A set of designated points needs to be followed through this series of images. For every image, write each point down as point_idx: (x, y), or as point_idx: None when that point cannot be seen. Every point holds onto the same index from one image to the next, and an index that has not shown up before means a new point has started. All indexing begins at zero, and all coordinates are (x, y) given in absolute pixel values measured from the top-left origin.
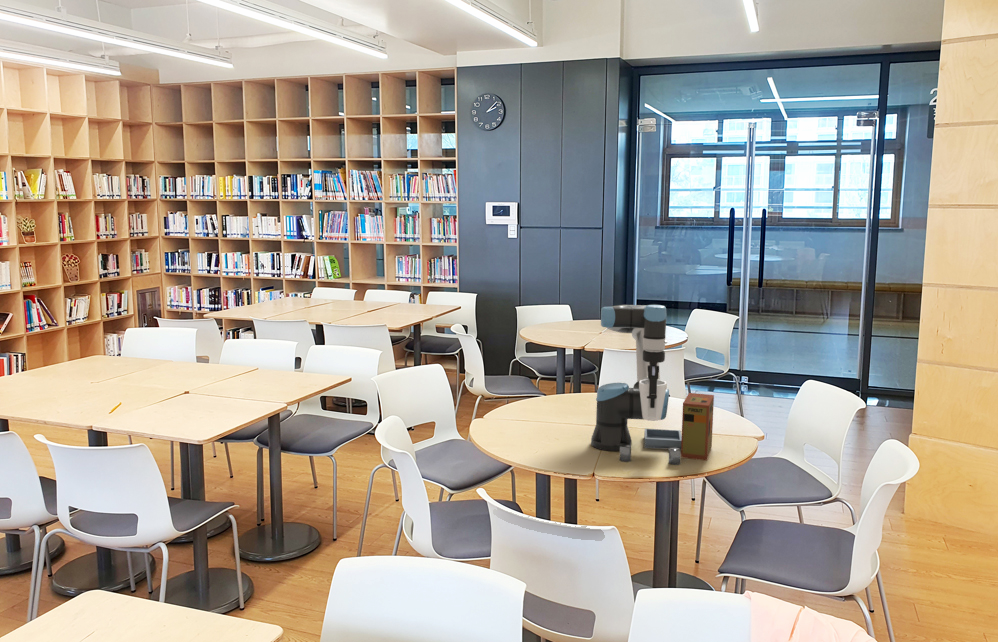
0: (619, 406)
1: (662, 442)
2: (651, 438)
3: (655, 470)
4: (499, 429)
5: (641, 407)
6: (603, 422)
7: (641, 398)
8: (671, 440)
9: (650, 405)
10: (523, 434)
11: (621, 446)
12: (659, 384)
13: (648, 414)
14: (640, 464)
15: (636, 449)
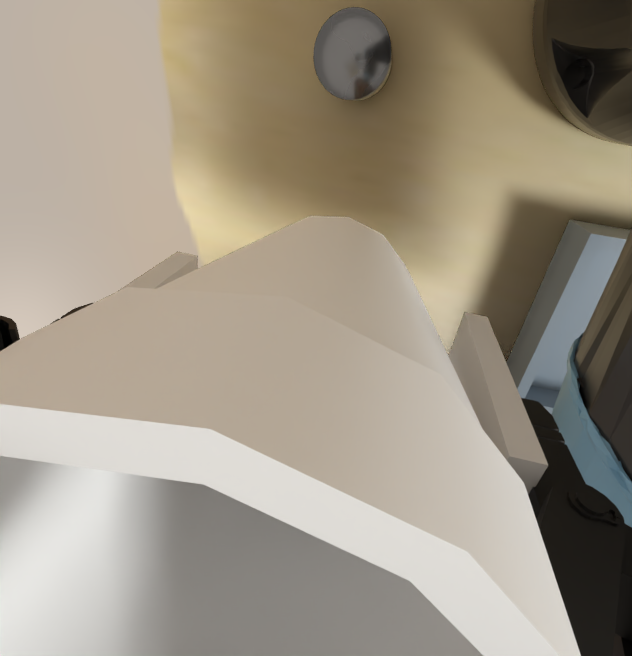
0: None
1: (541, 318)
2: (585, 272)
3: (216, 205)
4: None
5: (334, 230)
6: None
7: (223, 257)
8: (527, 364)
9: (64, 316)
10: None
11: (354, 21)
12: None
13: (167, 262)
14: (292, 146)
15: (548, 165)
